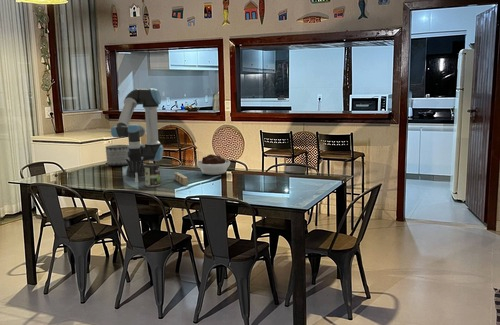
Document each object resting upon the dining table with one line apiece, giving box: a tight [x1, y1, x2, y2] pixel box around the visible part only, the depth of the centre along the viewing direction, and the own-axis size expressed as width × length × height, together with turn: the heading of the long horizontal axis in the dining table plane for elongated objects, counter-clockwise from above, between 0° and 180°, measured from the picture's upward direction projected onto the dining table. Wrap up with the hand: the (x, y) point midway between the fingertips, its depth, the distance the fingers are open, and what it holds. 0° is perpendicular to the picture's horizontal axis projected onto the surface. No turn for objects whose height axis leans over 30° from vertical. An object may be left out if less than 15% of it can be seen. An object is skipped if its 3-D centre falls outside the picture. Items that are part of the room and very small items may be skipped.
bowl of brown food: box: [196, 153, 231, 176], centre depth 365 cm, size 25×25×15 cm
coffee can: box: [144, 163, 161, 188], centre depth 329 cm, size 10×10×14 cm
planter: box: [105, 144, 129, 167], centre depth 409 cm, size 19×19×16 cm
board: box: [174, 171, 189, 186], centre depth 338 cm, size 22×3×5 cm, turn 25°
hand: (136, 182), depth 325 cm, fingers closed
